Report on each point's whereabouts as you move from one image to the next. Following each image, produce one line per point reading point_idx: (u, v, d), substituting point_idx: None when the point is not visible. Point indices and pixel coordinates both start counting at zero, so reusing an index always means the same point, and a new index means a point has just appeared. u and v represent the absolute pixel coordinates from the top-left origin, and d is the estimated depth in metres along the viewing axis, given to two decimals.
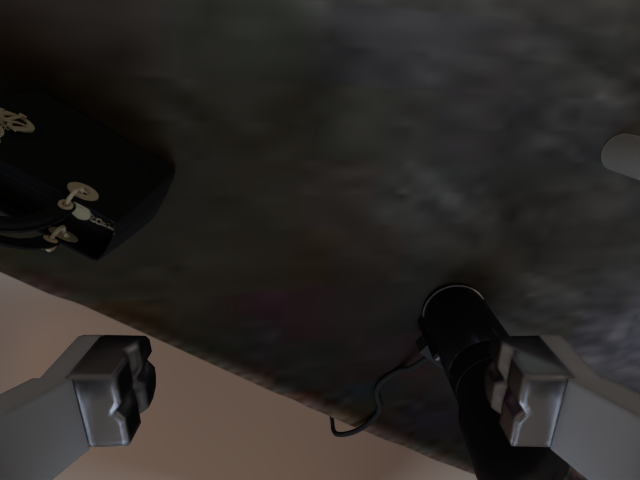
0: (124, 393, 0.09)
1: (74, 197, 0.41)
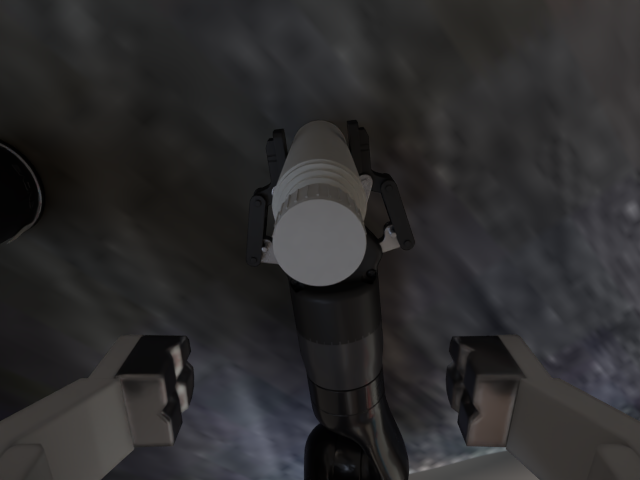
0: (169, 393, 0.09)
1: None
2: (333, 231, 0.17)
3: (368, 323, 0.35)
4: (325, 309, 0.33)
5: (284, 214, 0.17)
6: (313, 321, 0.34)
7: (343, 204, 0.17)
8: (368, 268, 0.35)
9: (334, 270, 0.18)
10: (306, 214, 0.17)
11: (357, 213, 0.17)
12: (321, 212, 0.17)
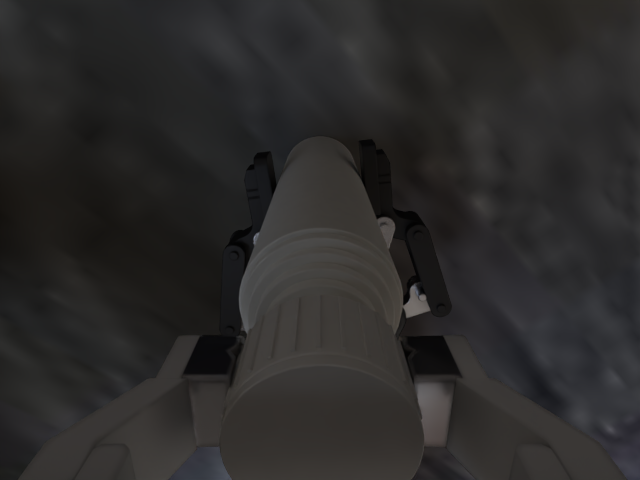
0: None
1: None
2: (353, 426, 0.08)
3: None
4: None
5: (243, 393, 0.07)
6: None
7: (376, 371, 0.07)
8: None
9: None
10: (292, 394, 0.07)
11: (404, 380, 0.08)
12: (326, 390, 0.07)
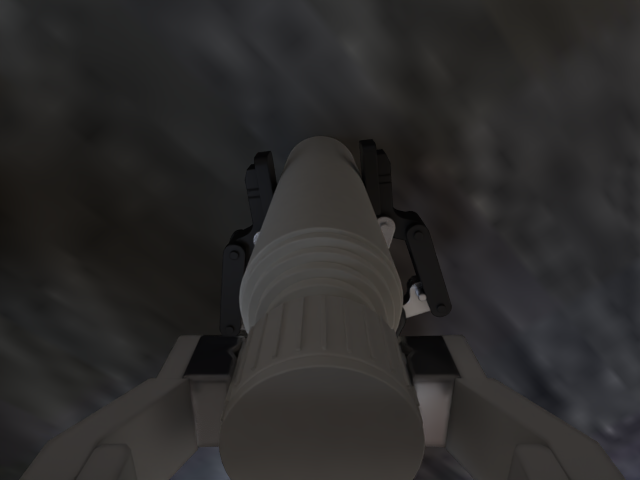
0: None
1: None
2: (305, 419, 0.08)
3: None
4: None
5: (232, 479, 0.08)
6: None
7: (258, 377, 0.07)
8: None
9: (393, 447, 0.08)
10: (247, 449, 0.08)
11: (298, 348, 0.08)
12: (254, 424, 0.08)
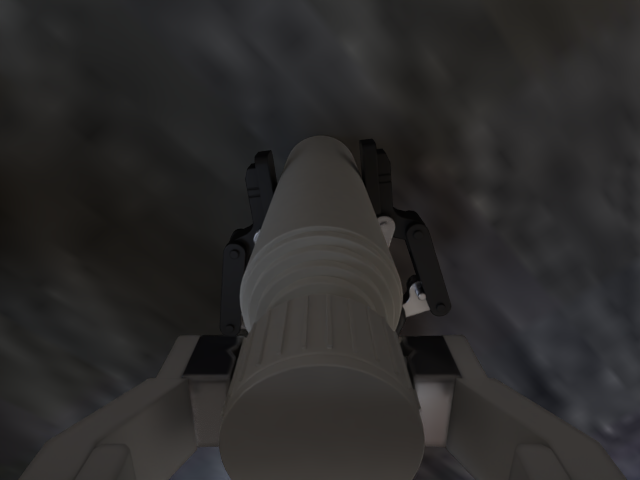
0: None
1: None
2: (278, 448, 0.08)
3: None
4: None
5: None
6: None
7: None
8: None
9: (347, 396, 0.07)
10: None
11: (223, 413, 0.08)
12: None
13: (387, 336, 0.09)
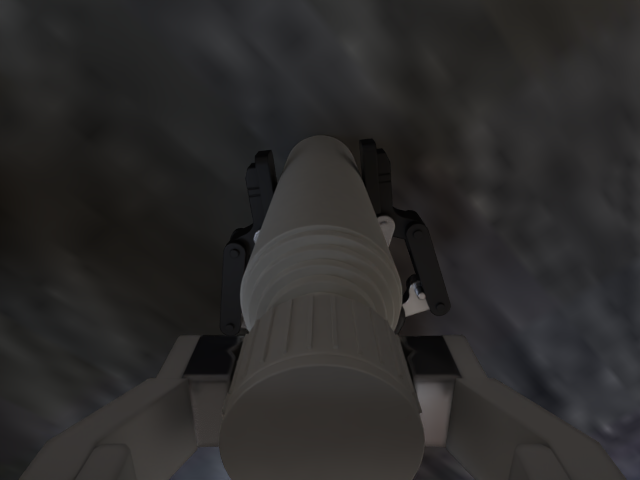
0: None
1: None
2: (303, 478, 0.08)
3: None
4: None
5: (411, 478, 0.08)
6: None
7: None
8: None
9: (267, 411, 0.08)
10: None
11: None
12: None
13: (287, 318, 0.09)
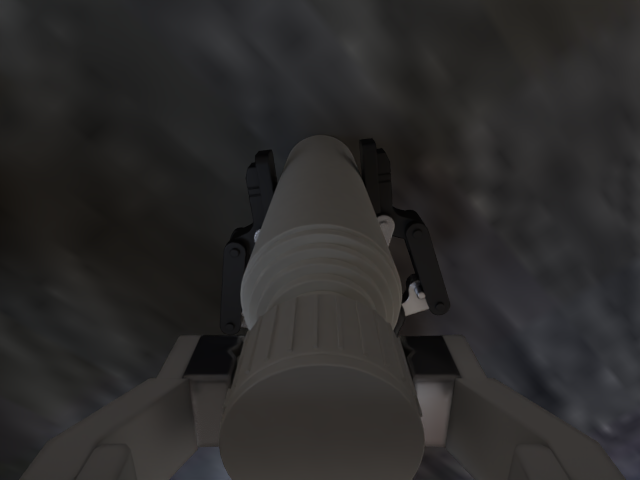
0: None
1: None
2: (348, 473, 0.08)
3: None
4: None
5: (401, 393, 0.07)
6: None
7: None
8: None
9: (257, 470, 0.08)
10: (394, 433, 0.08)
11: None
12: (394, 457, 0.08)
13: None
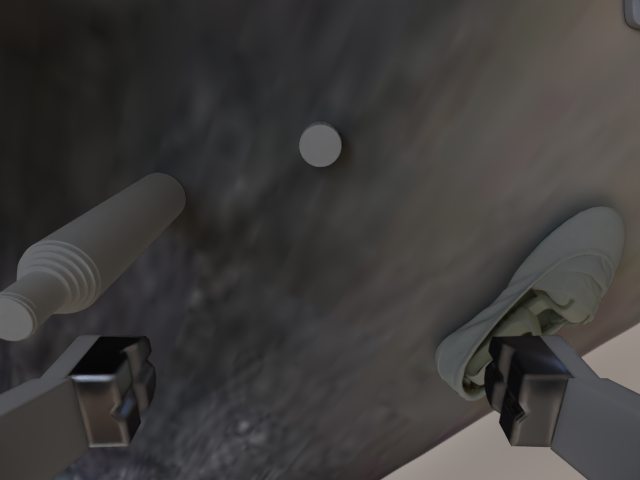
0: (124, 393, 0.09)
1: None
2: (328, 143, 0.39)
3: None
4: None
5: (313, 126, 0.38)
6: None
7: (338, 135, 0.39)
8: None
9: (320, 160, 0.39)
10: (322, 130, 0.38)
11: (341, 142, 0.39)
12: (328, 133, 0.38)
13: None
